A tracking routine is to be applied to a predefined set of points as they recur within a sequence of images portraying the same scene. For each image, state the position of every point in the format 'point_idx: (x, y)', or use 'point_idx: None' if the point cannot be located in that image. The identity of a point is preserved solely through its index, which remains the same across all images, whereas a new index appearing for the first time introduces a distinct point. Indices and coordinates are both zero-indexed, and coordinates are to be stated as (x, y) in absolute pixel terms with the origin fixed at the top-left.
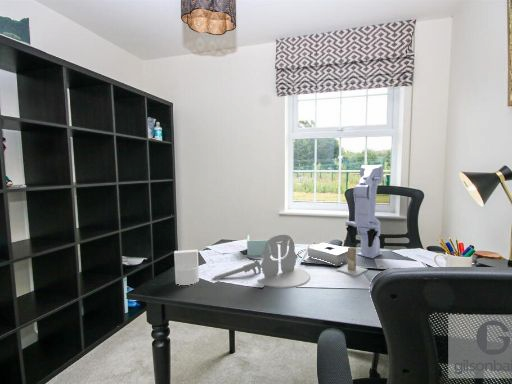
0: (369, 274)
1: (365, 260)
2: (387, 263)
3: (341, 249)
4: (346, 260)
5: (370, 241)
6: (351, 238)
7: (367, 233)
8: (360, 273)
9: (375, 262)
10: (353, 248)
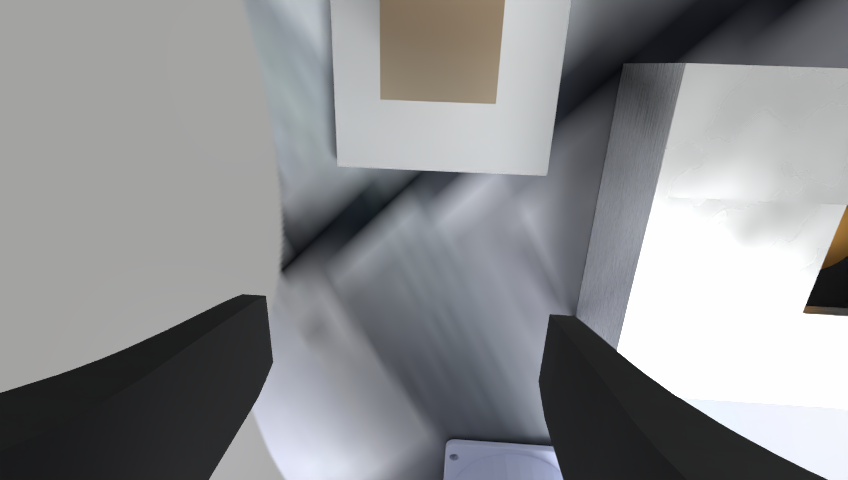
0: (280, 85)
1: (471, 372)
2: (316, 407)
3: (714, 315)
4: (595, 245)
5: (154, 339)
6: (601, 355)
7: (7, 446)
8: (332, 17)
9: (390, 377)
10: (409, 48)
